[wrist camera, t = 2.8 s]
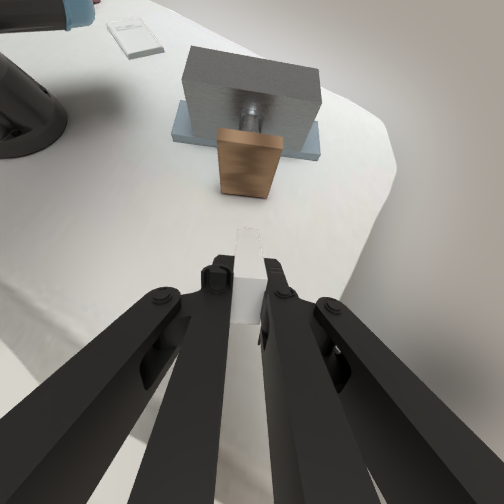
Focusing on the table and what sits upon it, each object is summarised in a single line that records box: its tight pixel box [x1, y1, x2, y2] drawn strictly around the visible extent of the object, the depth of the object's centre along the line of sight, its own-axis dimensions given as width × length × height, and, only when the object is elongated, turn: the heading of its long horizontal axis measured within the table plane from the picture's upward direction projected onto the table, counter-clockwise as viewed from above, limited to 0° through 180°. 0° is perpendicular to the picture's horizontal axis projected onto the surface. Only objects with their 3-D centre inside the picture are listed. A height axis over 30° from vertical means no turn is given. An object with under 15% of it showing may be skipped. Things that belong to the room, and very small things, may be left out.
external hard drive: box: [106, 17, 165, 60], centre depth 41 cm, size 2×8×12 cm
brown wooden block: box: [217, 114, 283, 198], centre depth 28 cm, size 8×12×10 cm
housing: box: [171, 46, 322, 161], centre depth 31 cm, size 28×9×10 cm, turn 87°
